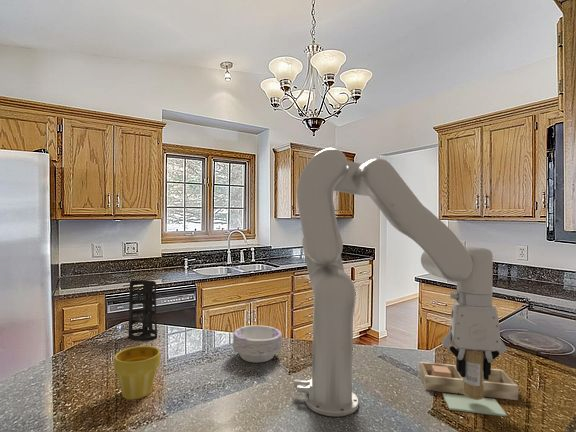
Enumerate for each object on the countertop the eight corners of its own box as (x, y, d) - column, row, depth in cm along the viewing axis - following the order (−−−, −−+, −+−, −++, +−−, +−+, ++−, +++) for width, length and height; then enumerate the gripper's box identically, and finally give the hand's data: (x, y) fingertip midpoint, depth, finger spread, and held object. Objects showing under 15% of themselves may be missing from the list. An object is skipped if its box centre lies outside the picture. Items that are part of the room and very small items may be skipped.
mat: (449, 409, 80) (449, 407, 80) (442, 394, 87) (442, 393, 87) (506, 416, 78) (506, 414, 78) (494, 400, 85) (494, 399, 85)
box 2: (475, 395, 87) (475, 381, 87) (464, 378, 97) (464, 365, 97) (518, 400, 85) (518, 385, 85) (502, 382, 95) (502, 369, 95)
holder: (122, 340, 121) (124, 283, 121) (132, 333, 129) (133, 279, 129) (154, 341, 121) (155, 283, 121) (162, 333, 129) (163, 280, 129)
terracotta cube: (434, 386, 92) (434, 371, 92) (431, 379, 96) (431, 365, 96) (450, 388, 91) (450, 373, 91) (446, 381, 95) (447, 366, 95)
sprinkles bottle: (487, 397, 82) (488, 340, 82) (477, 402, 79) (478, 343, 80) (468, 389, 86) (469, 334, 86) (458, 394, 83) (458, 337, 83)
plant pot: (130, 409, 78) (131, 365, 78) (104, 396, 83) (105, 355, 83) (168, 390, 87) (169, 351, 87) (142, 379, 92) (143, 342, 92)
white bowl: (290, 360, 107) (291, 334, 107) (246, 371, 98) (247, 343, 98) (265, 345, 119) (266, 321, 120) (224, 353, 111) (225, 329, 111)
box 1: (425, 389, 90) (425, 376, 90) (419, 373, 99) (419, 361, 99) (465, 394, 88) (465, 380, 88) (455, 377, 97) (455, 365, 97)
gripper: (439, 300, 81) (438, 379, 81) (520, 305, 77) (519, 387, 77) (433, 293, 88) (432, 366, 88) (506, 298, 85) (505, 373, 85)
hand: (473, 375), depth 83 cm, fingers closed on sprinkles bottle, 4 cm apart
